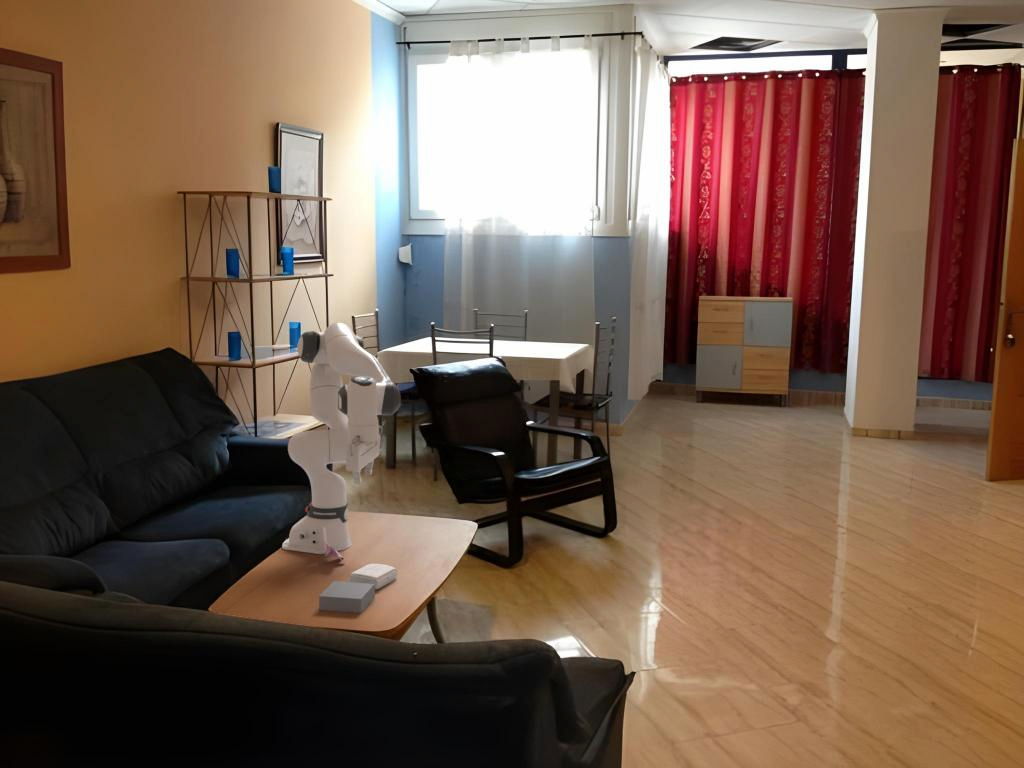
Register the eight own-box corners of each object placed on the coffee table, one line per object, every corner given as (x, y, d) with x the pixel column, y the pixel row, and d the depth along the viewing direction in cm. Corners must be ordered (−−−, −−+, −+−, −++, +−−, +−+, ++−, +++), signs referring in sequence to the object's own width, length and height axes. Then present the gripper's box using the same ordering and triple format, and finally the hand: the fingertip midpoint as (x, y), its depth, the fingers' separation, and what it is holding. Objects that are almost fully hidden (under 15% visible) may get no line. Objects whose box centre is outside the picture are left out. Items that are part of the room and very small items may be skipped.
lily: (336, 574, 279) (347, 544, 281) (301, 560, 281) (313, 531, 283) (346, 574, 291) (357, 545, 293) (312, 561, 293) (324, 533, 294)
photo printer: (378, 591, 265) (400, 578, 276) (378, 577, 264) (400, 565, 275) (348, 586, 269) (371, 573, 280) (348, 572, 268) (371, 560, 279)
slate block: (319, 609, 250) (319, 595, 250) (334, 594, 262) (334, 581, 261) (361, 613, 248) (361, 599, 248) (374, 597, 260) (374, 583, 260)
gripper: (361, 441, 253) (361, 489, 256) (384, 426, 273) (384, 470, 276) (340, 440, 254) (340, 487, 257) (363, 424, 274) (364, 469, 277)
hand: (363, 478), depth 266 cm, fingers open, 8 cm apart
